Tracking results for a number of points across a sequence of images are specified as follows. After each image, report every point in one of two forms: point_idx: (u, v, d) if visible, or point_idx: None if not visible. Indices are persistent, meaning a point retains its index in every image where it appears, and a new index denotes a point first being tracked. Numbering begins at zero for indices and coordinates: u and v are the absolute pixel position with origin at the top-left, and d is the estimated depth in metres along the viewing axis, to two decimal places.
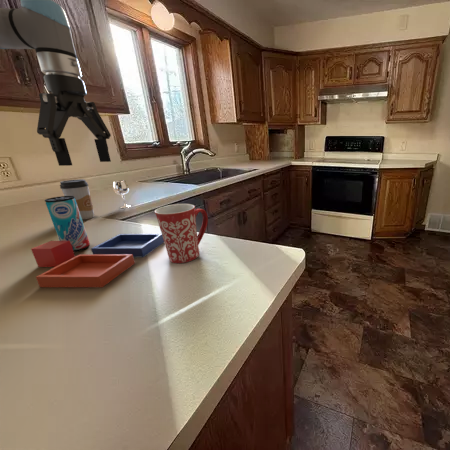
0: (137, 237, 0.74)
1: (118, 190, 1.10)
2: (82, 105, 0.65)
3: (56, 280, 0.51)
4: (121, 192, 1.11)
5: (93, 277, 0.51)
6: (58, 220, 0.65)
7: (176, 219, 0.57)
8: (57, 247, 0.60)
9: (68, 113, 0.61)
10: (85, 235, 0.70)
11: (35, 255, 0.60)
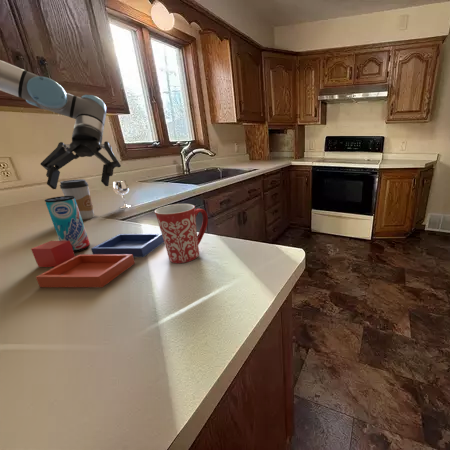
0: (137, 237, 0.74)
1: (118, 190, 1.10)
2: None
3: (56, 280, 0.51)
4: (121, 192, 1.11)
5: (93, 277, 0.51)
6: (58, 220, 0.65)
7: (176, 219, 0.57)
8: (57, 247, 0.60)
9: None
10: (85, 235, 0.70)
11: (35, 255, 0.60)
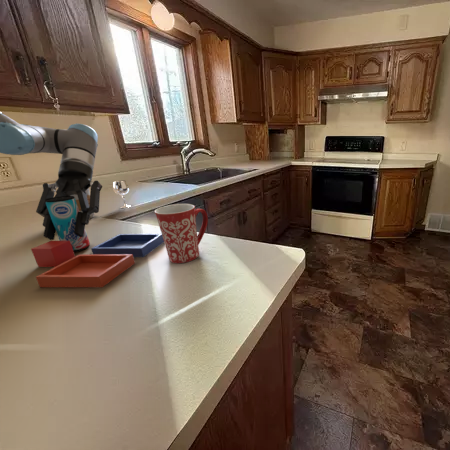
0: (137, 237, 0.74)
1: (118, 190, 1.10)
2: None
3: (56, 280, 0.51)
4: (121, 192, 1.11)
5: (93, 277, 0.51)
6: (58, 220, 0.65)
7: (176, 219, 0.57)
8: (57, 247, 0.60)
9: None
10: (85, 235, 0.70)
11: (35, 255, 0.60)
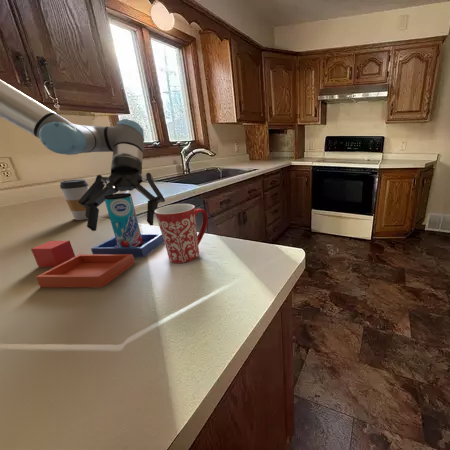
0: None
1: None
2: None
3: (56, 280, 0.51)
4: (121, 192, 1.11)
5: (93, 277, 0.51)
6: (117, 217, 0.64)
7: (176, 219, 0.57)
8: (57, 247, 0.60)
9: None
10: (139, 233, 0.69)
11: (35, 255, 0.60)
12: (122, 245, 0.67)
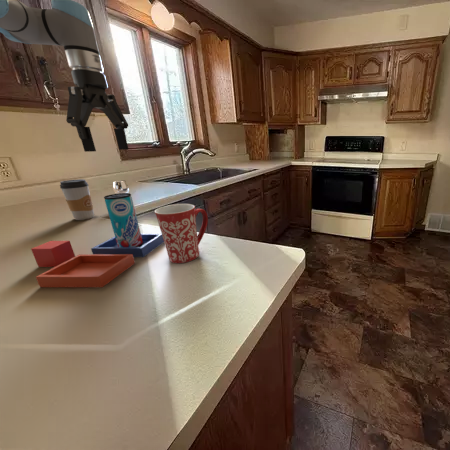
0: None
1: (118, 190, 1.10)
2: (104, 97, 0.72)
3: (56, 280, 0.51)
4: (121, 192, 1.11)
5: (93, 277, 0.51)
6: (117, 217, 0.64)
7: (176, 219, 0.57)
8: (57, 247, 0.60)
9: (92, 104, 0.68)
10: (139, 233, 0.70)
11: (35, 255, 0.60)
12: (122, 245, 0.67)
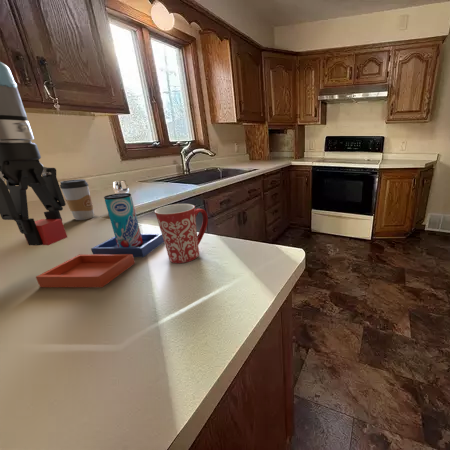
0: None
1: (118, 190, 1.10)
2: (35, 170, 0.56)
3: (56, 280, 0.51)
4: (121, 192, 1.11)
5: (93, 277, 0.51)
6: (117, 217, 0.64)
7: (176, 219, 0.57)
8: (48, 225, 0.59)
9: None
10: (139, 233, 0.69)
11: None
12: (122, 245, 0.67)
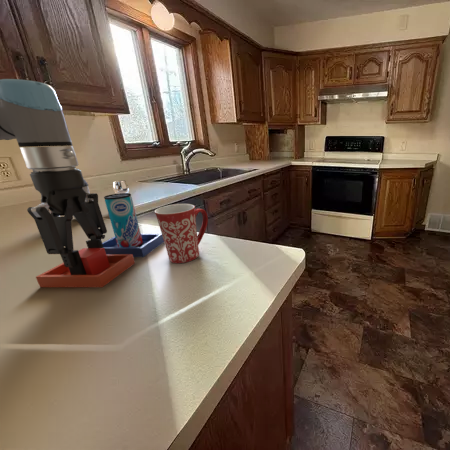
0: None
1: (118, 190, 1.10)
2: (80, 198, 0.52)
3: (56, 280, 0.51)
4: (121, 192, 1.11)
5: (93, 277, 0.51)
6: (117, 217, 0.64)
7: (176, 219, 0.57)
8: (92, 256, 0.54)
9: None
10: (139, 233, 0.69)
11: None
12: (122, 245, 0.67)
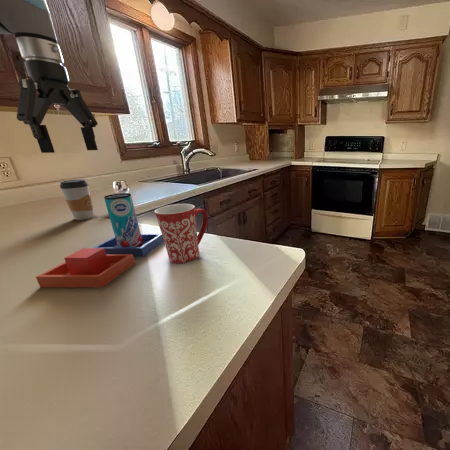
0: None
1: (118, 190, 1.10)
2: (65, 92, 0.64)
3: (56, 280, 0.51)
4: (121, 192, 1.11)
5: (93, 277, 0.51)
6: (117, 217, 0.64)
7: (176, 219, 0.57)
8: (92, 256, 0.54)
9: (49, 100, 0.61)
10: (139, 233, 0.69)
11: (68, 265, 0.53)
12: (122, 245, 0.67)
